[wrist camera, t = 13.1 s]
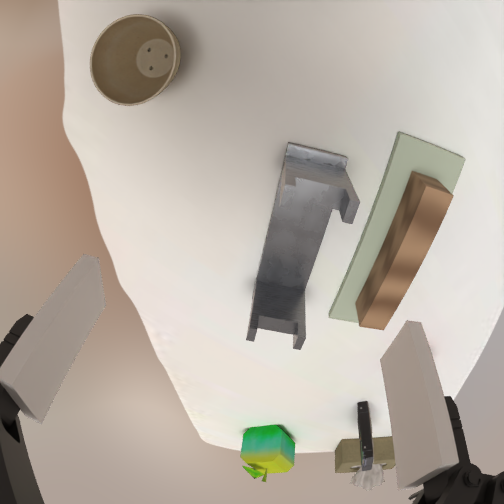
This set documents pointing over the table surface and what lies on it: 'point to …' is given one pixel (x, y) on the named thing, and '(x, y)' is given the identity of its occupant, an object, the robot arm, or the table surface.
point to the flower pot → (134, 59)
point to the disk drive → (365, 436)
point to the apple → (267, 451)
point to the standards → (298, 237)
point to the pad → (392, 210)
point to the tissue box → (351, 461)
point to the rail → (403, 249)
